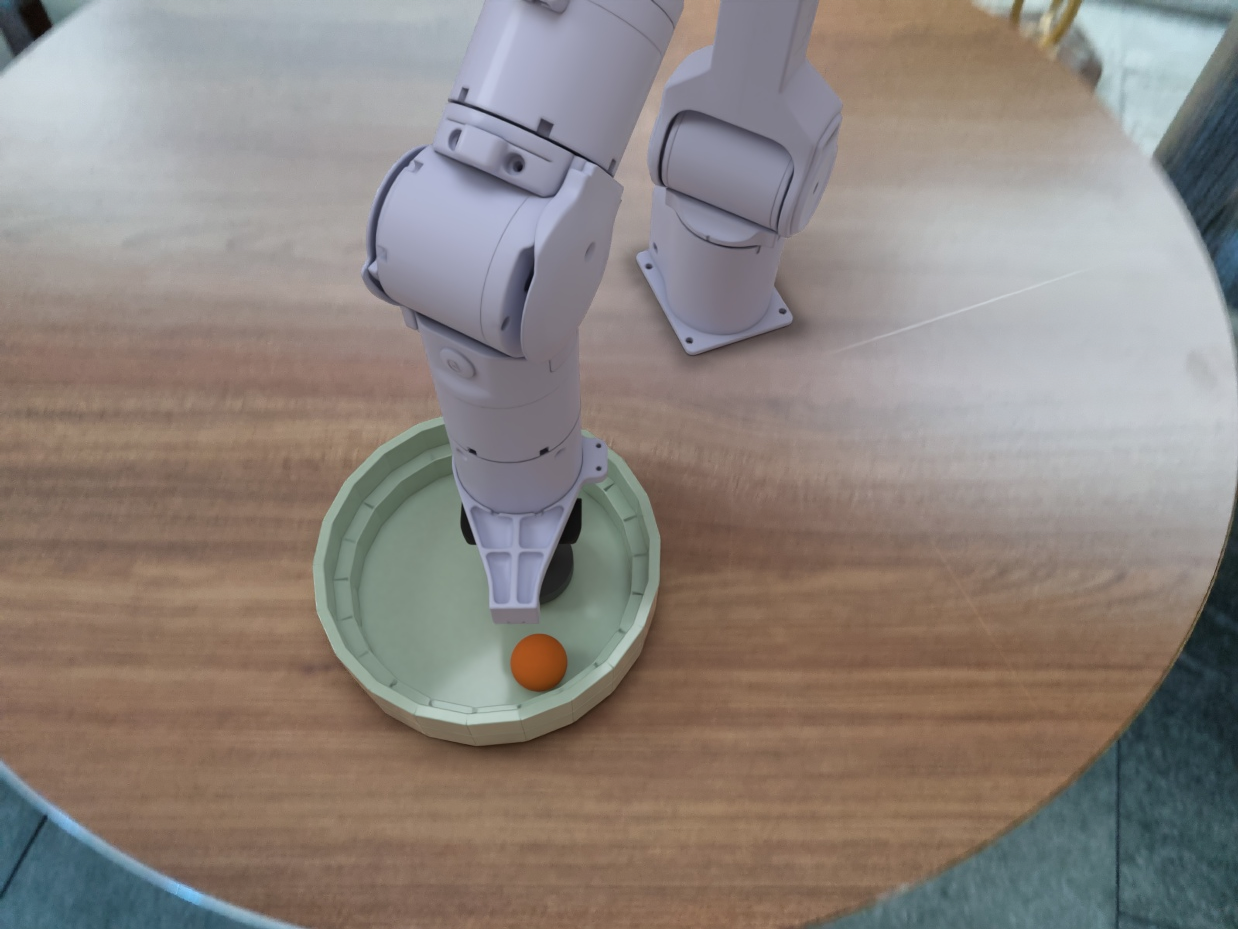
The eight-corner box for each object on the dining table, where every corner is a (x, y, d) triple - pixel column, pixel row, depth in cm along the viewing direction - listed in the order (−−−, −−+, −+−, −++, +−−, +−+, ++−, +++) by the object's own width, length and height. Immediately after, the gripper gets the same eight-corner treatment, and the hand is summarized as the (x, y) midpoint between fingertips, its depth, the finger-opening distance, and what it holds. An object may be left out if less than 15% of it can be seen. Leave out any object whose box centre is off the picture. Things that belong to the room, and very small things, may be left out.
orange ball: (501, 630, 49) (526, 652, 46) (552, 620, 50) (578, 642, 48) (500, 682, 50) (524, 707, 47) (550, 671, 51) (576, 694, 49)
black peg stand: (582, 537, 54) (580, 473, 47) (562, 614, 51) (557, 558, 45) (502, 521, 54) (489, 455, 47) (479, 597, 52) (462, 538, 45)
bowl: (304, 507, 56) (279, 466, 51) (589, 415, 59) (588, 369, 55) (381, 803, 47) (360, 783, 43) (707, 673, 51) (718, 643, 47)
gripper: (610, 565, 35) (607, 674, 46) (606, 269, 42) (604, 428, 54) (421, 566, 34) (466, 675, 46) (450, 269, 42) (482, 429, 53)
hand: (531, 543), depth 50 cm, fingers closed on black peg stand
